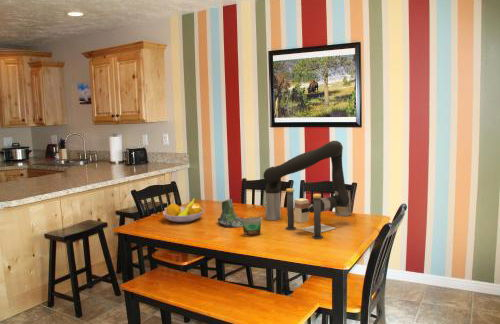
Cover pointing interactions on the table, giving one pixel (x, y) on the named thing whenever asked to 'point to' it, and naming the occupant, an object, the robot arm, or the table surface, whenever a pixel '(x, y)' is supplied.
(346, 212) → the coffee box
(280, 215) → the robot arm
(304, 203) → the carton
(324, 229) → the mat
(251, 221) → the food container
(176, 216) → the fruit bowl
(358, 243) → the table surface
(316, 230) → the gate
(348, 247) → the table surface
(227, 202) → the tree stump
